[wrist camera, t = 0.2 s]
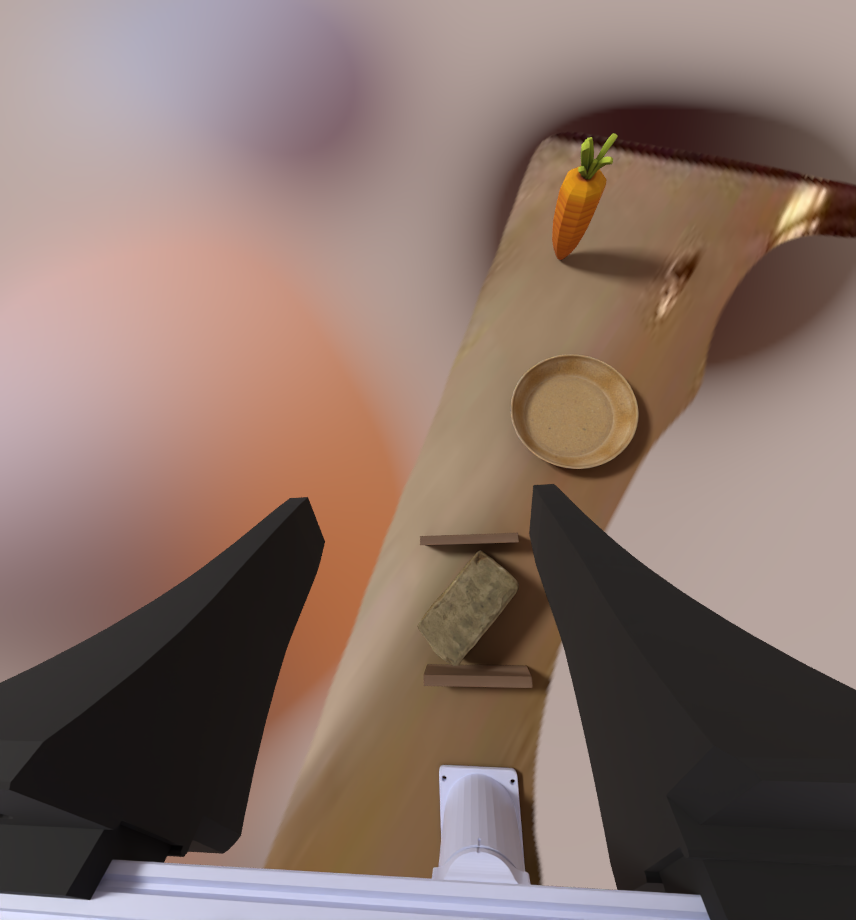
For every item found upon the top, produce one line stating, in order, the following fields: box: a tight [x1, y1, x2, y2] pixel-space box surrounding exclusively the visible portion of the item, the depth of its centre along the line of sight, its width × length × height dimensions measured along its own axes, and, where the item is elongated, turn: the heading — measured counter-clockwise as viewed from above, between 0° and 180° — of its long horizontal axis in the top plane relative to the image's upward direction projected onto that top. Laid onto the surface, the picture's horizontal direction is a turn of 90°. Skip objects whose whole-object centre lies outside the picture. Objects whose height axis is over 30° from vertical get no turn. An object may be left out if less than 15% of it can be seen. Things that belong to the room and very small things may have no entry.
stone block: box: [418, 550, 518, 666], centre depth 36 cm, size 6×12×5 cm, turn 139°
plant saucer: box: [511, 354, 638, 469], centre depth 41 cm, size 15×15×3 cm
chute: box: [420, 533, 532, 688], centre depth 37 cm, size 15×11×3 cm
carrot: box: [552, 134, 617, 260], centre depth 40 cm, size 5×5×15 cm
